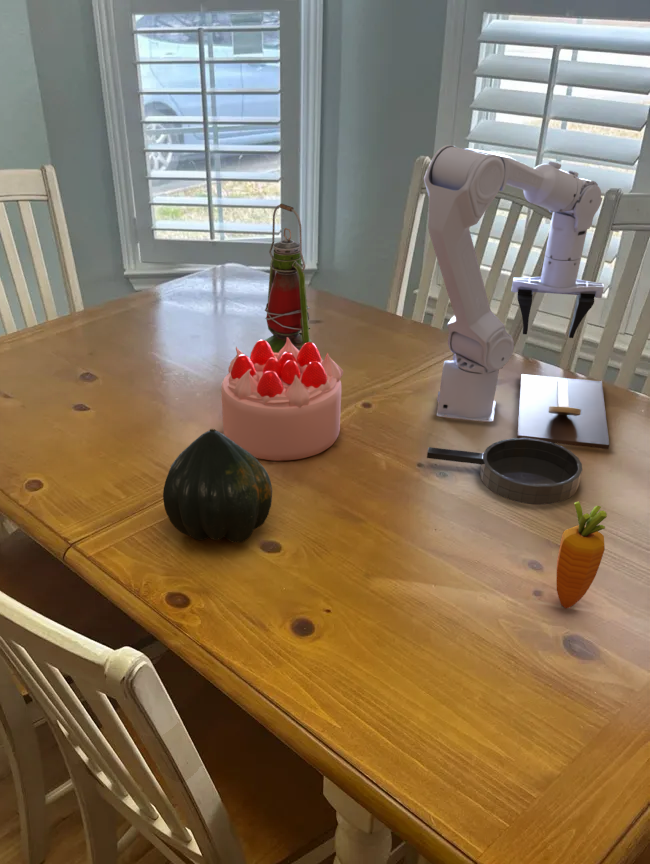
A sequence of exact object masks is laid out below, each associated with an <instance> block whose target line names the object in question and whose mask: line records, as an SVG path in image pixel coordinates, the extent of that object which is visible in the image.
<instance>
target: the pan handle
mask: <svg viewBox="0 0 650 864" xmlns="http://www.w3.org/2000/svg"><path fill="white" fill-rule="evenodd" d="M483 453H484V452H477V451H465V450H457V449H450V448H449V449H447V448H440V447H432V446H428V448H427V452H426V458H427V459H431V460H439V461H449V462H458V463H466V464H474V465H481V464H482V459H483Z"/></svg>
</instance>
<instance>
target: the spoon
mask: <svg viewBox="0 0 650 864" xmlns="http://www.w3.org/2000/svg"><path fill="white" fill-rule="evenodd" d="M557 405H558V406H550V407H549V411H548V412H549V413H553V414H560V415H572V416H578V415H580V413H581V409H577V408H571V407H569V402H568V383H567V380H563V379H558V382H557Z"/></svg>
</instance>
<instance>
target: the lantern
mask: <svg viewBox="0 0 650 864" xmlns="http://www.w3.org/2000/svg"><path fill="white" fill-rule="evenodd" d="M279 208H280V209H281V210H286V211H287V212H291V213H294V215H295V217H296V219H297V222H298V230H299V231H298V232H299V233H298V235H299V236H298V237H299V242H298V241H295V240H293V239H292V231H291V229H290V228H287V227H285V228H284V229H283V237H284V238H285V239H282V240H280V241H278V242H275V233H276V232H275V231H276V230H275V229H276V228H275V227H276V212H277V211H278V209H279ZM301 222H302V221H301V218H300V216H299V214H298V212H297V211H296V210H295V208H294V207H293V206H291V205H287V204H285V203H280V204H278V205H277V206H276V207H274V210H273V214H272V236H271V237H272V240H271V245H270V247H269V250H268V252H269V255H270V258H271V260H270V264H269V277H268V278H269V279H268V291H267V302H266V305H265V308H264V311H265V312H266V316H265V318H264V320H266V324H267V329H268V331H269V332H270V333H271V334H272V335H271V336H269V337H267V338H265V339H264V340H265V341H267V342H268V343H269V345H270V346H271V348H272V350H273V353H279V351H280V350H281V349H282V348H283V347H284V345H285V344H286V341H287V337H288V338H289V339H290V341H291V343H292V344H293V345H294V346H295V347H296V348H297V349H298V350H299V351H300V349H301V347H302V346H303V345H304V344H305V343H307V342H312V343H314V342H313V340H311V339H310V330H311V328H310V327H309V321H310V314H309V311H308V310H310V309H311V306H309V305H308V301H307V287H306V286H307V285H306V274H305V269H306V263H305V259H304V255H303V239H302V238H303V235H302V232H303V231H302V223H301ZM286 230H287V231H288V232H289V237H287V236H286ZM272 251H273V252H272Z"/></svg>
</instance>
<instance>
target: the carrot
mask: <svg viewBox="0 0 650 864" xmlns="http://www.w3.org/2000/svg"><path fill="white" fill-rule="evenodd" d="M573 505H574V509H575V512H576V517H577V522H578V525H574V526H572V527H569V528H566V529H565V530H563V532H562V535H561V537H560V538H561V539H560V543H559V548H558V553H557V560H556V593H557V598H558V600H559V603H560V605H561V607H563V608H564V609H570V608H572V607H573V606H574V605H576V604H577V603H578V602H579V601H580V600H581V599H583V597H584V596H585V595H586V593H588V590H589V589H590V587H591V585H592V584H593V582H594V580H595V578H596V576H597V574H598V571H599V568H600V565H601V563H602V559H603V556H604V553H605V548H606V547H605V535H603V533H601V532H600V531H602V530H604V529H606V526H605V525H603V524H600V523H602V522H603V521H604V520H605V519H606V518H607V517H608V513H607V511H605V510H601V509H602V506H601V505H595V506H594V507H593V508H592V510H591V511H590V513H588V512H586V513H584V514H583V508H582V505H581V503H580V501H576V502H574V503H573Z"/></svg>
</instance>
